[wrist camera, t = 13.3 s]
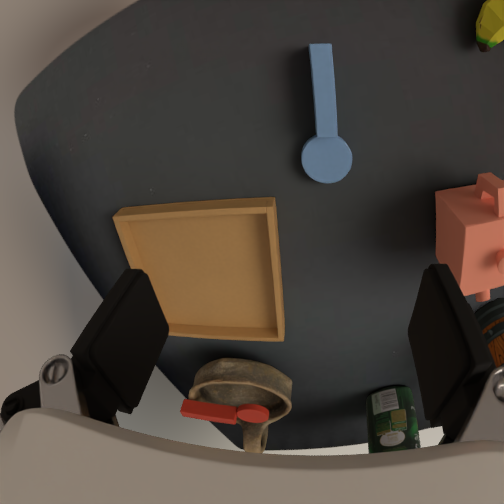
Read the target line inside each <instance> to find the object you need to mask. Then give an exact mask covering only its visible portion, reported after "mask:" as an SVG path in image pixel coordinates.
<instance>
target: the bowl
mask: <svg viewBox="0 0 504 504" xmlns="http://www.w3.org/2000/svg"><path fill="white" fill-rule="evenodd" d="M291 390H292V380H291V379H290V378H289V377H287V376H286V375H285V374H283V373H282V372H280V371H279V370H277V369H275V368H274V367H272V366H270V365H267V364H264V363H261V362H257V361H252V360H246V359H240V358H221V359H218V360H214V361H211V362H209V363H207V364H205V365H204V366H202V367H201V368H200V369H199V371H198V372H197V374H196V375H195V379H194V385H193V387H192V388H191V389H190V391H189V400H193V401H199V402H206V403H213V404H220V405H227V406H236V407H237V408H238V407H239V406H240V405H242V404H256V405H260V406H263V407H265V408H267V409H268V411H269V418H268V420H267V421H265V422H261V423H252V422H247V421H244V420H242V419H240V418H238V417H237V419H236V423H238V424H240V425H241V426H242V428H243V446H244V450H245V452H252V453H263V451H264V450H265V446H266V441H267V435H268V425H269V424H270V423H272V422H275V421H277V420H279V419H280V418H282V417H283V416H285V415H286V414H288V413H289V412H290V410H291V407H292V405H291Z"/></svg>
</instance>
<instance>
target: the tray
mask: <svg viewBox="0 0 504 504" xmlns="http://www.w3.org/2000/svg"><path fill="white" fill-rule="evenodd" d="M113 220H114V223H115V226H116V229H117V232H118V235H119V238H120V240H121V243H122V246H123V249H124V251H125V254H126V257H127V259H128V262H129V265H130V267H131V269H142V270H143V271H144V273H147V274H148V276H149V279H150V281H151V284H152V286H153V289H154V291H155V294H156V296H157V299H158V301H159V304H160V306H161V308H162V311H163V313H164V316H165V318H166V320H167V323H168V325H169V334H168V335H172V336H184V337H196V338H210V339H227V340H248V341H284V334H285V320H284V304H283V290H282V276H281V262H280V250H279V237H278V225H277V213H276V202H275V197H260V198H239V199H221V200H206V201H192V202H178V203H166V204H155V205H144V206H134V207H124V208H121V209H120V210H119V211H118V212H117V213H116V214H115V215H114V216H113Z"/></svg>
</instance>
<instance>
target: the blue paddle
mask: <svg viewBox="0 0 504 504" xmlns="http://www.w3.org/2000/svg"><path fill="white" fill-rule="evenodd" d="M309 56H310V66H311V77H312V88H313V100H314V114H315V130H316V135H314V136H312V137H311V138H310V139H308V140H307V142H306V143H305V144H304V146H303V149H302V153H301V161H302V166H303V168H304V170H305V172H306V173H307V175H308V176H309V177H311V178H312V179H314V180H315V181H318V182H321V183H333V182H337V181H339V180H341V179H342V178H343V177H345V176H346V175H347V173H348V172H349V170H350V168H351V165H352V153H351V150H350V148H349V146H348V145H347V143H346V142H345V141H344V140H343V139H342V138H341V137H339V136H337V112H336V95H335V81H334V68H333V57H332V47H331V44H309Z"/></svg>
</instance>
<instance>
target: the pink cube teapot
mask: <svg viewBox="0 0 504 504" xmlns="http://www.w3.org/2000/svg"><path fill="white" fill-rule="evenodd" d="M435 197H436V257H437V259H438V261H439V263H440V264H447V265H448V266H449V268H450V270H451V272H452V274H453V275H454V277H455V279H456V281H457V283H458V285H459V287H460V289H461V291H462V293H463V295H464V296H466V295H470V294H474V293H475V295H476V302H482V301H487V300H489V299H490V289H493V288H496V287H500V286H503V285H504V180H501V179H499V178H498V177H496V176H495V175H494V174H492V173H491V172H489V173H483V174H478V179H477V183H476V185H470V186H464V187H458V188H452V189H447V190H441V191H436V192H435Z"/></svg>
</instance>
